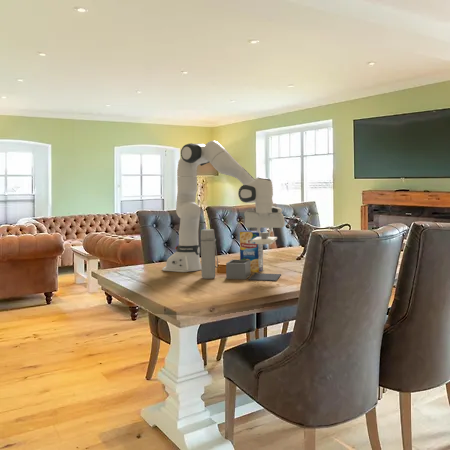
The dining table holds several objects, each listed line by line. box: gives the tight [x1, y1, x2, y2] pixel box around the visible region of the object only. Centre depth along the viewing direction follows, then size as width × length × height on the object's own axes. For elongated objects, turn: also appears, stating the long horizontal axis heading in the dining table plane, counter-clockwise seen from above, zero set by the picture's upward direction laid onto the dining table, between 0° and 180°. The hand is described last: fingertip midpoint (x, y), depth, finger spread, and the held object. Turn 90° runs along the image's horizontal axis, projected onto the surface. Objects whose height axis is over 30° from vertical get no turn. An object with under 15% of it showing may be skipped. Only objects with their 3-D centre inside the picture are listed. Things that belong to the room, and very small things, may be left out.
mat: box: [247, 272, 282, 282], centre depth 241 cm, size 14×16×1 cm
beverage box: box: [239, 230, 264, 273], centre depth 261 cm, size 7×11×22 cm, turn 64°
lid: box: [252, 231, 278, 245], centre depth 240 cm, size 11×13×5 cm
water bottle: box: [200, 228, 219, 280], centre depth 243 cm, size 9×8×25 cm
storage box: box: [225, 259, 252, 280], centre depth 245 cm, size 10×12×8 cm
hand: (264, 236), depth 240 cm, fingers closed on lid, 2 cm apart
